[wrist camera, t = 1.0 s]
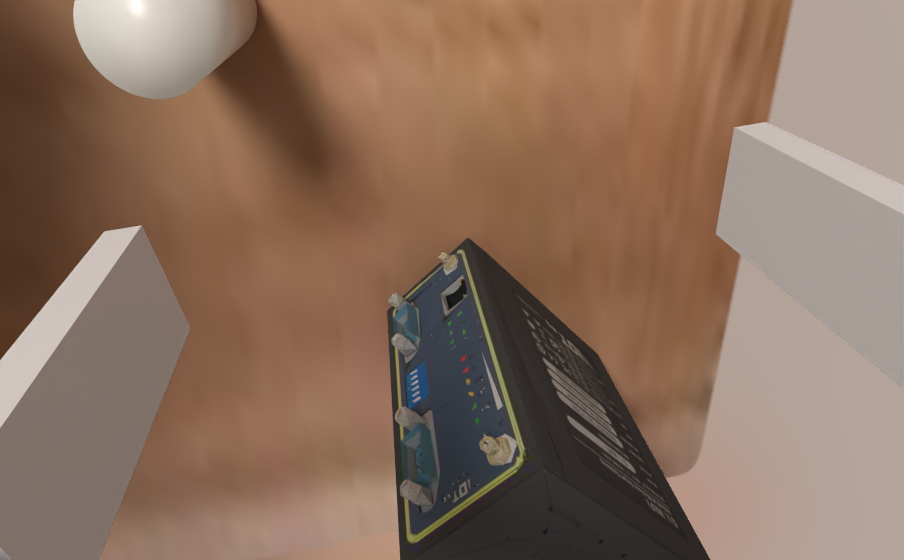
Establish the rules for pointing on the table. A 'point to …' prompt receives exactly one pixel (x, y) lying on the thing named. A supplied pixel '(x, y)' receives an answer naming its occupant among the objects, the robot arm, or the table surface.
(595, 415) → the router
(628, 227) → the table surface
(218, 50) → the white rounded cylinder
